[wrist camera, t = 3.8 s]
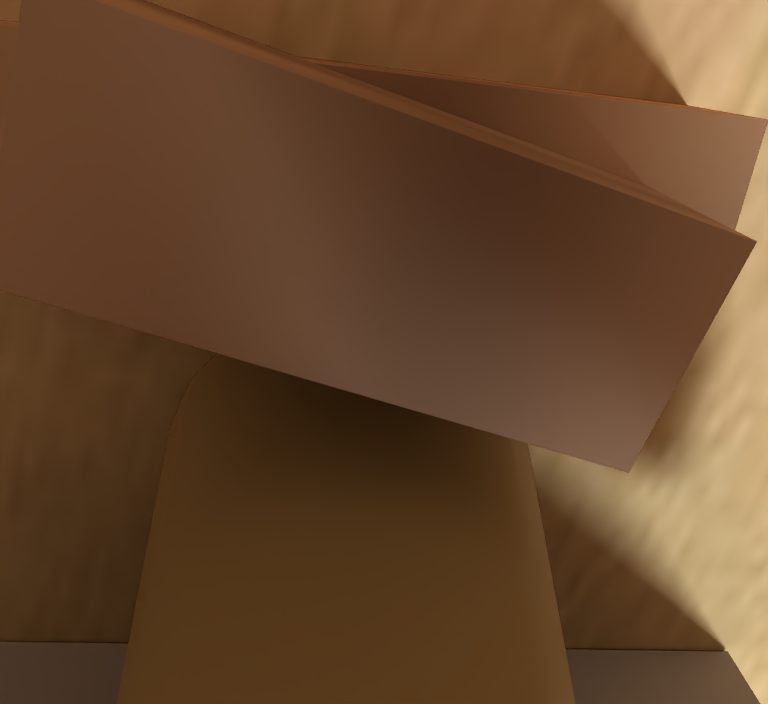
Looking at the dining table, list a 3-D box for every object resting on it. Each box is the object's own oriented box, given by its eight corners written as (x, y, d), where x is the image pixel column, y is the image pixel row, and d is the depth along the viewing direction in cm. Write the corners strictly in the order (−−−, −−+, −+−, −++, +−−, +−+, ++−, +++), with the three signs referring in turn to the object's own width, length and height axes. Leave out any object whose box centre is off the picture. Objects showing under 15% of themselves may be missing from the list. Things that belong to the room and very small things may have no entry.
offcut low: (43, 215, 11) (-40, 262, 8) (31, 22, 10) (-67, 15, 7) (632, 276, 12) (703, 333, 9) (676, 103, 11) (767, 119, 8)
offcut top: (82, 216, 8) (-20, 285, 6) (125, -7, 7) (26, -26, 5) (559, 364, 9) (629, 472, 7) (645, 185, 8) (755, 241, 6)
